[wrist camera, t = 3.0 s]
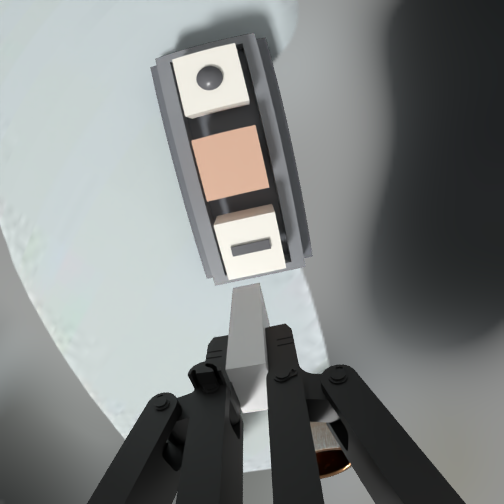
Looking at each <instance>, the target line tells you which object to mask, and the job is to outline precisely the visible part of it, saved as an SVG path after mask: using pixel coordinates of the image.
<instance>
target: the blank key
mask: <svg viewBox="0 0 504 504" xmlns="http://www.w3.org/2000/svg"><path fill="white" fill-rule="evenodd" d="M191 142H192V146H193V150H194V154H195V158H196V161H197V165H198V169H199V173H200V177H201V181H202V185H203V188H204V192H205V196H206V200H207V202H208V201H212V200H216V199H221V198H225V197H229V196H233V195H238V194H242V193H246V192H251V191H255V190H260V189H265V188H269V183H268V178H267V174H266V169H265V165H264V160H263V156H262V151H261V147H260V143H259V138H258V134H257V130H256V126H255V125H253V126H248V127H244V128H239V129H235V130H231V131H226V132H222V133H218V134H214V135H210V136H207V137H203V138H199V139H195V140H192V141H191Z"/></svg>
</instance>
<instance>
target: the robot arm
mask: <svg viewBox="0 0 504 504" xmlns="http://www.w3.org/2000/svg"><path fill="white" fill-rule="evenodd" d="M188 376H189V378H190V380H191V382H192V384H193V386H194V388H195V390H194V391H193V392H192V393H190V394H188V395H185V396H182V397H179V398H176V396H174V395H173V394H171V393H160V394H157V395H156V396H154V397H152V398H151V400H150V401H149V402H148V404H147V405H146V407H145V408H144V410H143V412H142V413H141V415H140V417H139V418H138V420H137V422H136V423H135V425H134V427H133V428H132V430H131V431H130V433H129V435H128V436H127V438H126V440H125V441H124V443H123V445H122V446H121V448H120V450H119V451H118V453H117V455H116V457H115V458H114V460H113V461H112V463H111V465H110V466H109V468H108V470H107V471H106V473H105V475H104V476H103V478H102V480H101V481H100V483H99V485H98V486H97V488H96V490H95V491H94V493H93V495H92V496H91V498H90V500H89V501H88V503H87V504H172V502H173V500H174V498H175V495H176V493H177V491H178V493H177V499H176V504H243V421H242V418H241V416H240V407H241V409H242V412H243V413H248V412H256V411H262V410H268V420H269V436H270V453H271V469H272V486H273V504H324V499H323V494H322V487H321V481H320V476H319V470H318V464H317V458H316V453H315V447H314V442H313V436H312V431H311V425H310V422H326V424H327V426H328V428H329V429H330V431H331V433H332V434H333V436H334V438H335V439H336V441H337V443H338V444H339V446H340V447H341V449H342V451H343V452H344V454H345V456H346V457H347V459H348V461H349V462H350V464H351V465H352V467H353V469H354V470H355V471H356V473H357V475H358V477H359V478H360V480H361V482H362V483H363V485H364V486H365V488H366V489H367V491H368V493H369V494H370V496H371V497H372V499H373V500H374V502H375V504H466V503H465V502H464V501H463V500H462V499H461V498H460V496H459V495H458V494H457V493H456V491H455V490H454V489H453V488H452V487H451V485H450V484H449V483H448V482H447V480H446V479H445V478H444V477H443V476H442V474H441V473H440V472H439V471H438V470H437V468H436V467H435V466H434V465H433V464H432V462H431V461H430V460H429V459H428V458H427V457H426V455H425V454H424V453H423V452H422V451H421V449H420V448H419V447H418V446H417V444H416V443H415V442H414V441H413V440H412V438H411V437H410V436H409V435H408V434H407V432H406V431H405V430H404V429H403V428H402V426H401V425H400V424H399V423H398V422H397V420H396V419H395V418H394V417H393V416H392V414H391V413H390V412H389V411H388V410H387V408H386V407H385V406H384V405H383V404H382V402H381V401H380V400H379V399H378V398H377V396H376V395H375V394H374V393H373V392H372V391H371V390H370V388H369V387H368V386H367V385H366V383H365V382H364V381H363V380H362V378H360V376H359V375H358V374H357V372H356V371H355V370H354V369H353V368H351V367H350V366H347V365H335V366H331V367H329V368H327V369H326V370H325V371H324V372H323V373H322V374H311V373H308V372H305V371H304V370H302V369H301V368H300V366H299V364H298V359H297V354H296V349H295V344H294V339H293V334H292V330H291V328H290V327H289V326H288V325H287V324H282V325H277V326H272V327H270V325H269V320H268V315H267V311H266V307H265V303H264V299H263V295H262V291H261V286H260V283H256V284H251V285H246V286H241V287H236V288H233V293H232V303H231V314H230V325H229V335H227V336H221V337H215V338H213V339H212V340H211V342H210V343H209V345H208V349H207V355H206V361H205V362H201V363H199V364H197V365H195V366H193V367H192V368H191V369H190V371H189V373H188Z"/></svg>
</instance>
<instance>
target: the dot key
mask: <svg viewBox="0 0 504 504" xmlns="http://www.w3.org/2000/svg"><path fill="white" fill-rule="evenodd" d="M172 62H173V67H174V71H175V75H176V80H177V84H178V88H179V92H180V97H181V101H182V105H183V109H184V113H185V117H188V118H191V119H193V118H197V117H200V116H204V115H208V114H212V113H216V112H220V111H224V110H228V109H232V108H236V107H241V106H245V105H249V96H248V92H247V88H246V84H245V80H244V76H243V72H242V68H241V64H240V60H239V57H238V53H237V49H236V45H235V43H232V44H228V45H223V46H219V47H215V48H211V49H207V50H203V51H199V52H196V53H192V54H189V55H185V56H182V57H179V58H175V59H172Z"/></svg>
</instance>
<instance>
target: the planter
mask: <svg viewBox="0 0 504 504" xmlns="http://www.w3.org/2000/svg"><path fill="white" fill-rule="evenodd" d="M310 425H311V431H312V436H313V442H314V447H315V453H316V458H317V464H318V470H319V476H320V479H322V478H327V477H331V476H334V475H337V474H339V473H341V472H343V471H345V470H347V469H348V468H350V467H351V466H352V465H351V464H350V462H349V461H348V459H347V457H346V456H345V454H344V452H343V451H342V449H341V447H340V446H339V444H338V443H337V441H336V439H335V438H334V436H333V434H332V433H331V431H330V429H329V428H328V426H327V424H326V422H310Z"/></svg>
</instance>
